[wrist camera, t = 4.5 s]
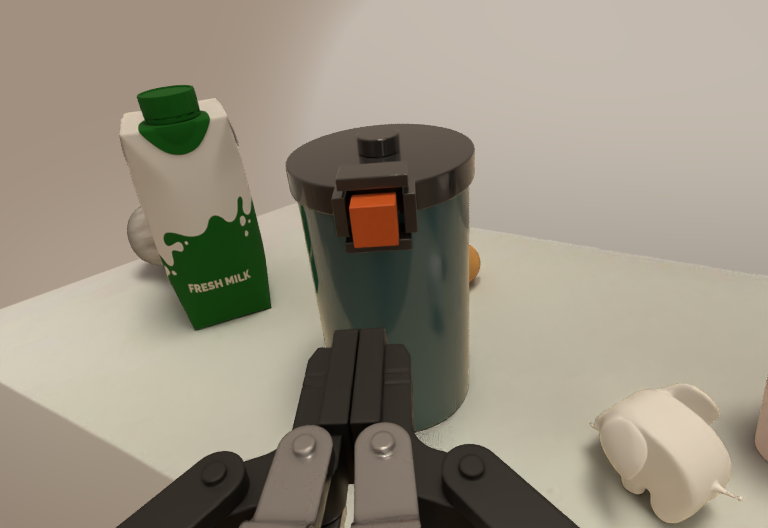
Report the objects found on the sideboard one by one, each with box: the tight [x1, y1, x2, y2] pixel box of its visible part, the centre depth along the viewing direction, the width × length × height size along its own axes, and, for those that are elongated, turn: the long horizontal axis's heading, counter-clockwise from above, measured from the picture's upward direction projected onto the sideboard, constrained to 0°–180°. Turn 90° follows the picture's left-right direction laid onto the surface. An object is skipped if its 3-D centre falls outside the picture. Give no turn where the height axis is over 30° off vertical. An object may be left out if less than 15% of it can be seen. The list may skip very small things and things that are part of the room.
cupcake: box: [127, 206, 163, 265], centre depth 53 cm, size 9×9×10 cm
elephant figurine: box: [589, 384, 743, 523], centre depth 27 cm, size 7×8×6 cm
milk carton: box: [119, 85, 271, 330], centre depth 43 cm, size 9×9×20 cm
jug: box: [286, 124, 475, 432], centre depth 33 cm, size 15×11×19 cm
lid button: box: [349, 192, 399, 248], centre depth 22 cm, size 1×2×2 cm
